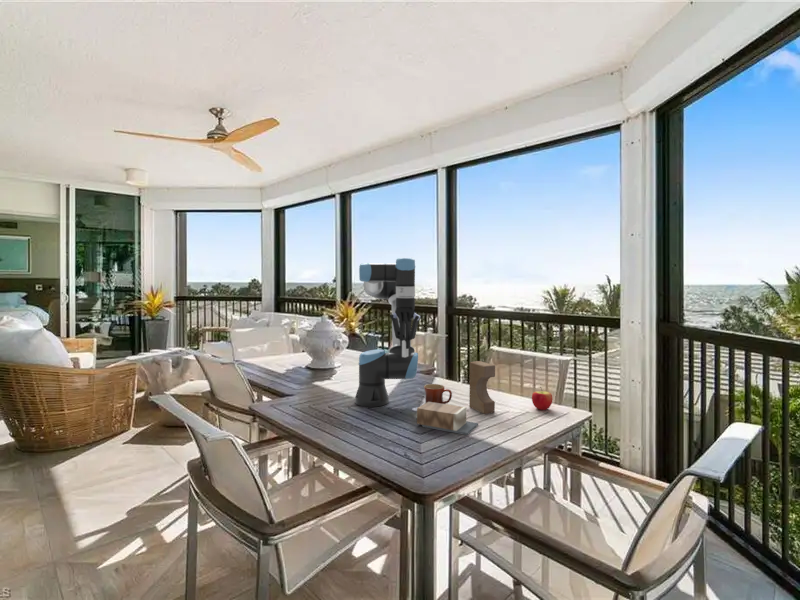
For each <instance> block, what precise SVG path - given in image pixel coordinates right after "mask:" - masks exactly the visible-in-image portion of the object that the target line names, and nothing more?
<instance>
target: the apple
mask: <svg viewBox="0 0 800 600" xmlns="http://www.w3.org/2000/svg"><path fill="white" fill-rule="evenodd" d="M540 390H541V391H537V390H536V391H533V393H532V395H531V402H532V404H533V406H534V407H535V408H536V409H537V410H540V411H546V410H549V408H550V407H551V406H552V403H553V395H552V393H551V392H549V391H543V389H542V387H541V386H540Z"/></svg>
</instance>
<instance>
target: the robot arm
mask: <svg viewBox="0 0 800 600" xmlns="http://www.w3.org/2000/svg"><path fill="white" fill-rule="evenodd" d="M415 262H416V261H415V259H414V258H413V257H397V258H396V259H395V263H372V262H370V263H369V262H367V263H361V264H359V269H358V273H359V275H358V276H359V277H358V278H359V281H360V282H363V290H364V292H365V293H366V294H367V295H368V296H370V297H371V298H375V299H378V300H379V299H380V300H388V304H390V305H391V313H390V315H389V317H390V319H391V332H392V333H391V334H392V335H391V338H392V347H391V348H389V352H386V351H385V350H384V349H381V348H380V349H379V348H378V349H371V350H366V351H363V352H362V353H360V354H359V357H358V388H357V391H356V394H355V398H354V403H355V404H356V405H358V406H359V407H360V406H361V407H366V408H367V407H370V408H372V407H373V408H374V407H381V406H385V405H387V404H389V401H390V397H389V393H388V390H387V386H386V380H409V379H410V380H411V379H414V378H416V376H417V371H418V364H419V363H418V362H419V353H418V352H416V350H415V348H414V347H413V346H412V340H415V338H416V335H417V334H416V333H417V331H418V325H419V321H420V320H421V318H422V316H421V314H420V315H419V314H418V313H417V312H416V310H415V309H416V308H415V307H416V300H415V296H416V284H415V283H416V263H415ZM412 319H413V320H412Z"/></svg>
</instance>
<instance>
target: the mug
mask: <svg viewBox="0 0 800 600" xmlns="http://www.w3.org/2000/svg"><path fill="white" fill-rule="evenodd" d="M423 390H424V393H425V394H424V395H425V400H424V402H425V403H427V402H434V403H441V404H448V403H450V402H451V400H452V397H453V392H452V390H451V389H450V388H445V385H443V384H438V383H429V384H425V385H424V386H423ZM445 392H447V393H449V397H448V399H447V400H444V397H443V396H444V393H445ZM425 403H424V404H425Z"/></svg>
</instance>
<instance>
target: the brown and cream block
mask: <svg viewBox="0 0 800 600" xmlns="http://www.w3.org/2000/svg"><path fill="white" fill-rule="evenodd" d="M466 421H467V406H461V405H455V404H448V403H446V404H441V403H434V402H427V403H423V404H421V405H420V406H418V407H417V408H416V424H417V425H421V426H422V425H427V426H433V427H438V428H444V429H449V430H454V431H457V430H458V429H460V428H461V427H462V426H463V425H464V424H466Z"/></svg>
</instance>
